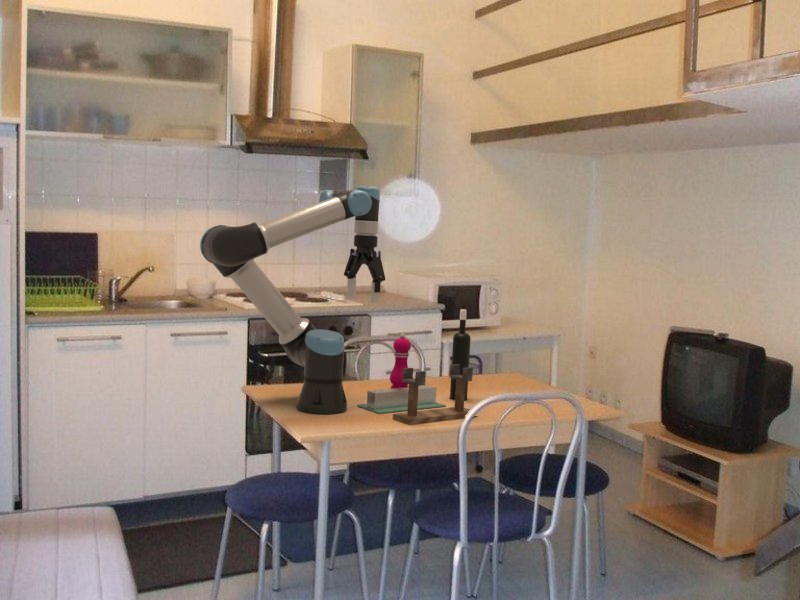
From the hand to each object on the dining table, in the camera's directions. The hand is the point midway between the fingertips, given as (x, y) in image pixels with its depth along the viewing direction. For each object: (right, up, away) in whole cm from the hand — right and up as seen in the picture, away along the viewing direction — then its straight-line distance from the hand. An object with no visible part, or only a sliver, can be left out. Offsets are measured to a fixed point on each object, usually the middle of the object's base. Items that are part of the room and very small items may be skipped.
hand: (362, 300), depth 283 cm
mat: (+13, -33, -8) cm, 36 cm away
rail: (+13, -33, -8) cm, 36 cm away
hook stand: (+23, -35, -21) cm, 47 cm away
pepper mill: (+12, -31, +17) cm, 37 cm away
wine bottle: (+31, -33, +9) cm, 46 cm away
